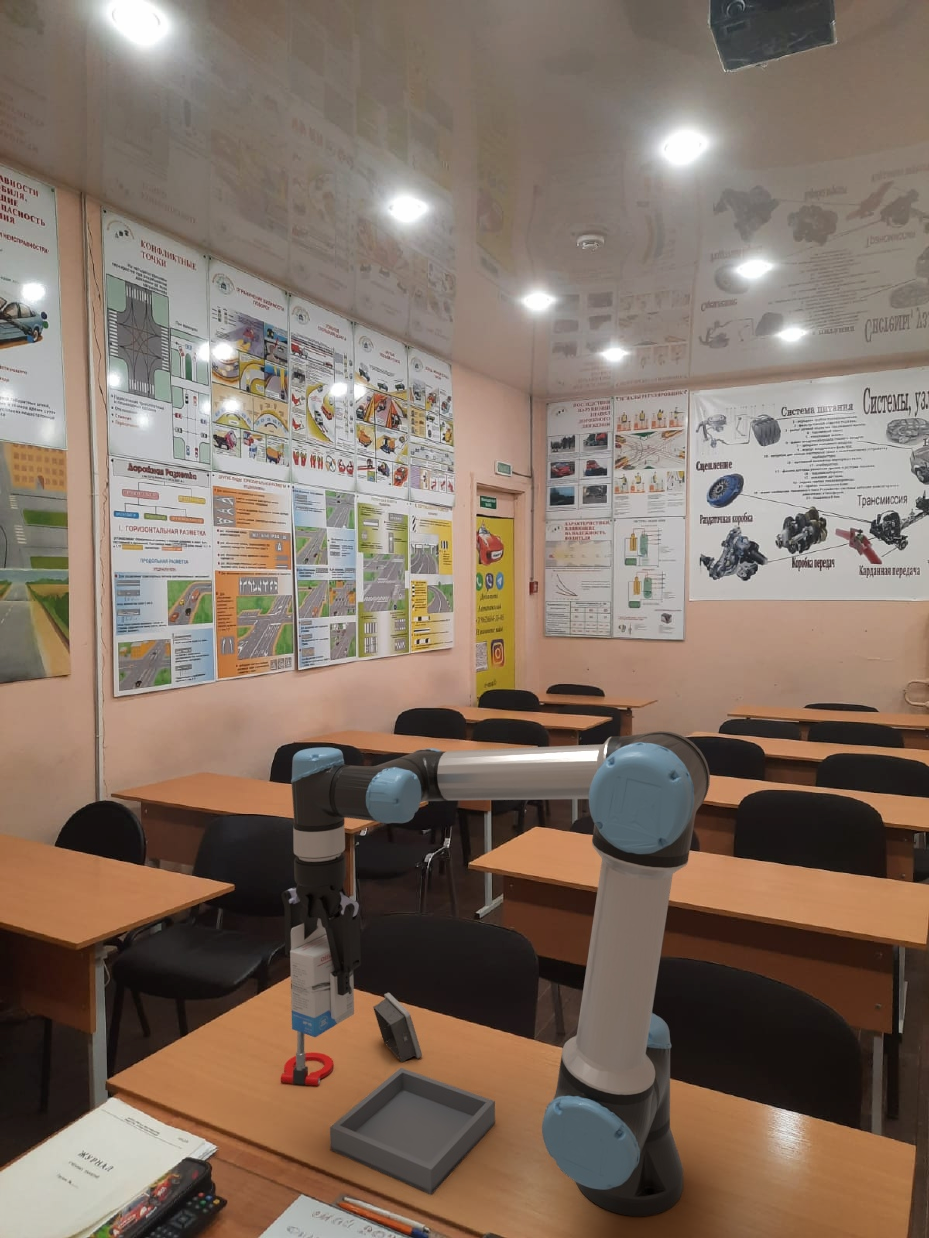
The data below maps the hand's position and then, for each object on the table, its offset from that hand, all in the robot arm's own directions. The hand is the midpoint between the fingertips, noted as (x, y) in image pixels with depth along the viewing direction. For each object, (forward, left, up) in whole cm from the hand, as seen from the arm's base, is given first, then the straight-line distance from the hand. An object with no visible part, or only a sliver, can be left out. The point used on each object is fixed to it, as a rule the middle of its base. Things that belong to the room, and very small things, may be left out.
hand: (323, 1009), depth 121 cm
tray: (-10, -9, -21) cm, 25 cm away
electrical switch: (+6, -27, -21) cm, 35 cm away
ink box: (0, 0, -2) cm, 2 cm away
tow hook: (+16, -14, -21) cm, 31 cm away
